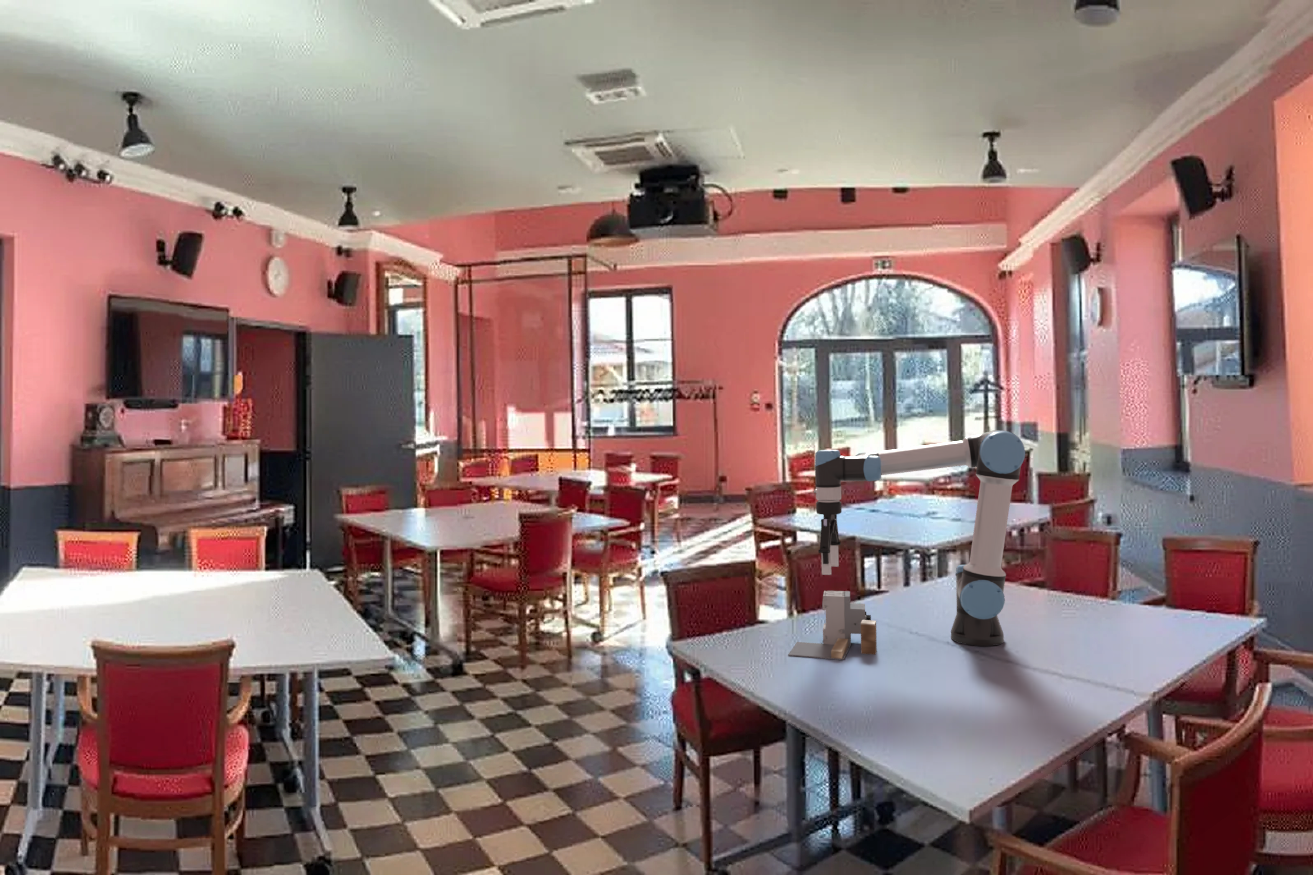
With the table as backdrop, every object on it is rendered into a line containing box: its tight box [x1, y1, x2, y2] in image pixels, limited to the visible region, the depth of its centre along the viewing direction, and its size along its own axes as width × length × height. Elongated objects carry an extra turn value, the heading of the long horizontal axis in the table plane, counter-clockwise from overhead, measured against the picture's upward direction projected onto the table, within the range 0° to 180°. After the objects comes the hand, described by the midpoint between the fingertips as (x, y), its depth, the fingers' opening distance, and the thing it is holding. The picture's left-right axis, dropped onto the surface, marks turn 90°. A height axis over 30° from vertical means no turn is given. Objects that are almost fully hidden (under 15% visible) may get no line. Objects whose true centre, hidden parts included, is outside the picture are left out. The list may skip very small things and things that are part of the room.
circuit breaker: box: [821, 590, 872, 647], centre depth 259 cm, size 8×14×15 cm, turn 76°
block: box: [860, 619, 878, 655], centre depth 248 cm, size 4×4×9 cm
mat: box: [787, 641, 851, 661], centre depth 250 cm, size 16×14×1 cm
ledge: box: [831, 638, 848, 659], centre depth 248 cm, size 3×14×2 cm, turn 160°
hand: (830, 570), depth 256 cm, fingers open, 13 cm apart
